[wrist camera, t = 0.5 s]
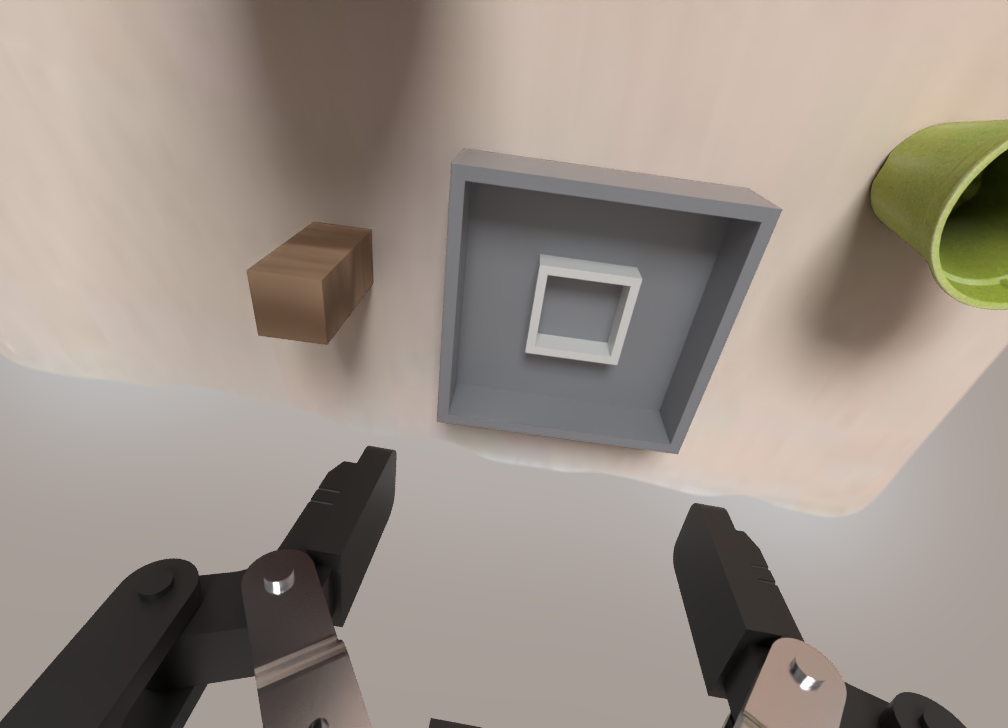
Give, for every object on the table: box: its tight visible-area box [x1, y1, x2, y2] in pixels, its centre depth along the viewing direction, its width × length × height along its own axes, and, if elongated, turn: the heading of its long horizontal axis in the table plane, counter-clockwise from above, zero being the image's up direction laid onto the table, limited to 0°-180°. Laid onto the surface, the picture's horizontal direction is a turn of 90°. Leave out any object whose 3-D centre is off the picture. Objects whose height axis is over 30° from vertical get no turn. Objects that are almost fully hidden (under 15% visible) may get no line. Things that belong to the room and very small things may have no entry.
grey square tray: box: [437, 149, 782, 454], centre depth 33 cm, size 18×18×5 cm
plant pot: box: [871, 120, 1008, 310], centre depth 26 cm, size 9×9×9 cm
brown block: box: [247, 222, 373, 345], centre depth 30 cm, size 4×4×9 cm
